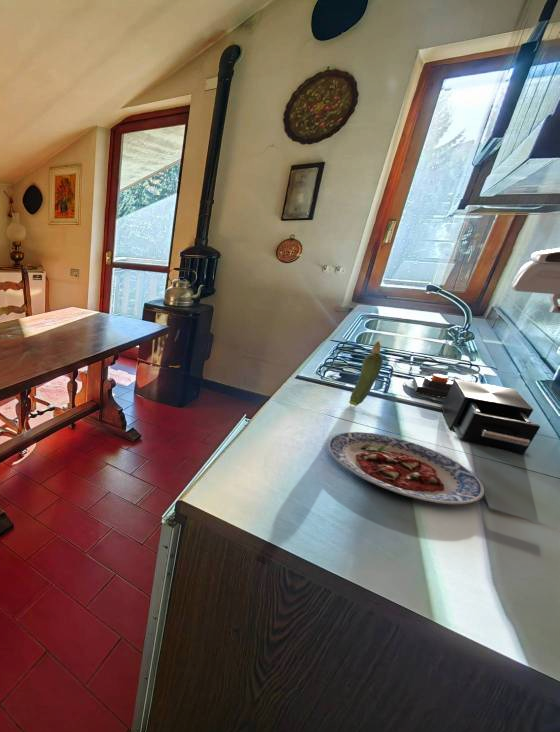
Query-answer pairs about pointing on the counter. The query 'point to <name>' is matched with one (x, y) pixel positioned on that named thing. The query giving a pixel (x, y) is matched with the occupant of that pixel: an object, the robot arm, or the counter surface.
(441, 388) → the control block
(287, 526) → the counter surface
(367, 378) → the vegetable
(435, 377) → the button
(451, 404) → the cabinet
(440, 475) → the ceramic plate
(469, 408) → the small drawer unit
